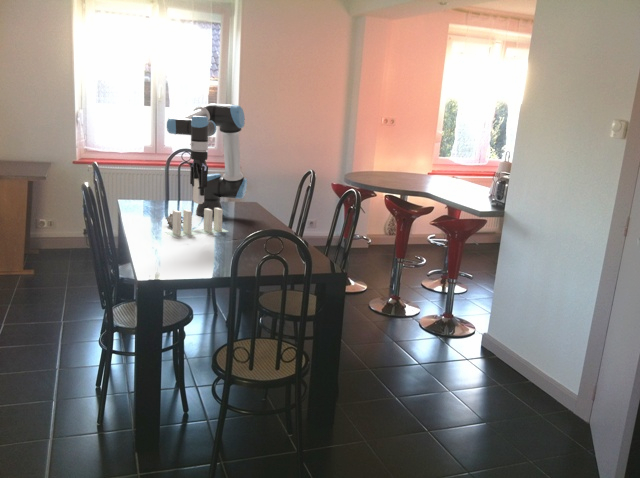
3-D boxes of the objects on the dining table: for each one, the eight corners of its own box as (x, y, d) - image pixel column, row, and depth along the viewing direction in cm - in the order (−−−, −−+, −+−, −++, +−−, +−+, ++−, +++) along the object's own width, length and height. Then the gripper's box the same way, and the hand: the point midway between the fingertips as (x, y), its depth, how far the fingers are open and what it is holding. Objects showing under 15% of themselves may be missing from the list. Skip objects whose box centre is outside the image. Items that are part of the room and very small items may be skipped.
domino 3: (197, 201, 276) (198, 178, 273) (202, 203, 272) (203, 180, 270) (193, 202, 275) (194, 178, 272) (198, 203, 271) (199, 180, 268)
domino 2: (186, 231, 289) (187, 209, 287) (191, 233, 285) (191, 211, 283) (183, 231, 288) (183, 209, 285) (187, 234, 284) (188, 211, 282)
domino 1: (176, 232, 286) (176, 210, 283) (180, 234, 282) (181, 212, 280) (172, 232, 285) (172, 210, 282) (176, 235, 281) (177, 212, 278)
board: (220, 229, 303) (220, 227, 302) (229, 233, 296) (229, 231, 296) (164, 234, 285) (164, 232, 284) (172, 238, 278) (172, 236, 277)
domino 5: (217, 229, 299) (217, 207, 297) (221, 231, 295) (222, 209, 293) (213, 229, 298) (214, 207, 295) (218, 231, 294) (218, 209, 292)
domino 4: (207, 229, 296) (207, 208, 293) (212, 232, 292) (212, 210, 290) (203, 230, 295) (204, 208, 292) (208, 232, 291) (208, 210, 288)
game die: (172, 236, 298) (163, 222, 291) (169, 226, 304) (160, 213, 298) (188, 227, 299) (180, 213, 293) (184, 218, 306) (176, 204, 299)
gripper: (183, 148, 273) (182, 198, 278) (200, 152, 259) (199, 205, 264) (197, 148, 277) (196, 197, 282) (216, 152, 263) (214, 204, 269)
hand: (198, 201), depth 273 cm, fingers closed on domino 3, 5 cm apart
